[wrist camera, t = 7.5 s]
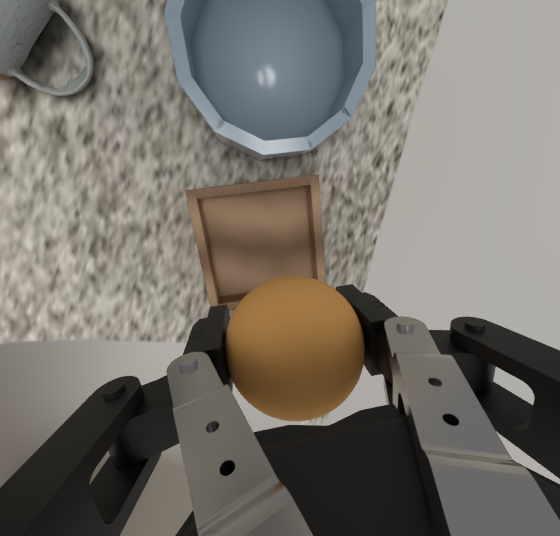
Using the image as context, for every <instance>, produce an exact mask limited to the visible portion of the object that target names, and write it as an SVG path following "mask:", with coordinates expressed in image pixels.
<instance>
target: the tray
mask: <svg viewBox="0 0 560 536" xmlns="http://www.w3.org/2000/svg"><path fill="white" fill-rule="evenodd" d="M186 196H187V201H188V205H189V210H190V215H191V219H192V224H193V229H194V233H195V238H196V243H197V247H198V252H199V257H200V261H201V266H202V271H203V275H204V280H205V284H206V289H207V294H208V298H209V303H210V307H212V306H218V305H224V304H227V306H228V310H233V309H236V307H237V306H238V304H239V303H240V301H241V300H242V299H243V298H244V297H245V296H246V295H247V294H248V293H249V292H250V291H252V290H253V289H254V288H256V287H257V286H259V285H260V284H262V283H264V282H266V281H268V280H271V279H274V278H278V277H283V276H305V277H310V278H313V279H317V280H319V281H321V282H323V283H326V281H325V265H324V250H323V234H322V218H321V203H320V187H319V175H312V176H304V177H295V178H287V179H278V180H270V181H261V182H253V183H245V184H236V185H228V186H219V187H211V188H203V189H194V190H186Z"/></svg>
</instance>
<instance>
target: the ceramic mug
mask: <svg viewBox="0 0 560 536" xmlns="http://www.w3.org/2000/svg"><path fill="white" fill-rule="evenodd" d="M59 1H60V0H0V79H8V78H11V77H12V76H16V77H17V78H18V79H20V80H21V81H23V82H24V83H26V84H27V85H29V86H31V87H33V88H36V89H37V90H39V91H42V92H45V93H48V94H51V95H57V96H68V95H73V94H76V93H78V92H80V91H82V90H83V89H84V88H85V87H86V86H87V85H88V83H89V82H90V80H91V78H92V75H93V69H94V63H93V57H92V53H91V51H90V48H89V46H88V44H87V42H86V40H85V38H84V36H83V35H82V33H81V32H80V30H79V29H78V28H77V26H76V25H75V24H74V23H73V22H72V20H71V19H70V18H69V17H68V15H67V14H66V13H65V12H64V11H63V10H62V9H61V8H60V6H59V5H58V4H59ZM54 12H56V13H57V14H59V15H60V16H61V17H62V18H63V19H64V21H65V22H66V23H67V24H68V26H69V27H70V29H71V30H72V31H73V33H74V34H75V36H76V37H77V39H78V41H79V43H80V46H81V49H82V51H83V56H84V58H85V62H86V66H85V68H84V69H83V71H82V72H81V73H80V74H79V76H78V77H77V78H76V79H75V80H73V81H68V83H67V85H66V86H64V87H61V88H60V89H56V88H50V87H48V86H46V85H43V84H41V83H39V82H37V81H35V80H33V79H31V78H30V77H28V76H27V75H25V74H24V73H23V72H22V71H21V67H22V66H23V64H24V62H25V60H26V59H27V57H28V54H29V52H30V50H31V48H32V46H33V44H34V43H35V41H36V40H37V38H38V36H39V35H40V33H41V32H42V30H43V29H44V27H45V26H46V24H47V22H49V20H50V17H51V16H52V14H53V13H54Z"/></svg>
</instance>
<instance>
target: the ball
mask: <svg viewBox="0 0 560 536" xmlns="http://www.w3.org/2000/svg"><path fill="white" fill-rule="evenodd" d="M225 352H226V361H227V367H228V370H229V374H230V376H231V378H232V380H233V382H234V384H235V386H236V388H237V389H238V391H239V392H240V393H241V395H242V396H243V397H244V398H245V399H246V400H247V401H248V402H249V403H250V404H251V405H253V406H254V407H255V408H257V409H258V410H259V411H261V412H263V413H264V414H267V415H269V416H271V417H274V418H278V419H281V420H286V421H305V420H311V419H314V418H318V417H320V416H323V415H325V414H327V413H329V412H331V411H332V410H334V409H335V408H337V407H338V406H339V405H340V404H341V403H343V402H344V401H345V400H346V398H347V397H348V396H349V395H350V393H351V392H352V390H353V389H354V387H355V386H356V384H357V382H358V380H359V377H360V374H361V372H362V368H363V364H364V355H365V342H364V335H363V331H362V327H361V324H360V322H359V319H358V317H357V315H356V313H355V311H354V310H353V308H352V306H351V305H350V304H349V302H348V301H347V300H346V299H345V298H344V297H343V296H342V295H341V294H340V293H339V292H338V291H336V290H335V289H334V288H332V287H331V286H329V285H328V284H326V283H323V282H321V281H319V280H317V279H313V278H310V277H305V276H283V277H278V278H274V279H271V280H268V281H266V282H264V283H262V284H260V285H259V286H257V287H256V288H254V289H253V290H252V291H250V292H249V293H248V294H247V295H246V296H245V297H244V298H243V299H242V300H241V301H240V303H239V304H238V306H237V307H236V309H235V311H234V312H233V314H232V316H231V318H230V321H229V324H228V327H227V332H226V337H225Z"/></svg>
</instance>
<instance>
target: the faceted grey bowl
mask: <svg viewBox="0 0 560 536" xmlns="http://www.w3.org/2000/svg"><path fill="white" fill-rule="evenodd" d="M164 14H165V19H166V24H167V29H168V34H169V39H170V44H171V49H172V55H173V60H174V65H175V70H176V75H177V80H178V82H179V84H180V86H181V87H182V89H183V90H184V92H185V94H186V95H187V97H188V98H189V100H190V102H191V103H192V104H193V106H194V107H195V108H196V110H197V111H198V112H199V114H200V115H201V116H202V118H203V119H204V121H205V122H206V123H207V125H208V126H209V127H210V129H211V130H212V131H213V133H214V134H215V135H216V137H217V138H218V139H219V141H220V142H222V143H224V144H226V145H228V146H231V147H233V148H235V149H237V150H239V151H241V152H243V153H245V154H247V155H250V156H252V157H254V158H256V159H258V160H266V159H275V158H284V157H293V156H300V155H302V154H304V153H306V152H308V151H310V150H312V149H313V148H314V147H316V146H317V145H318V144H320V143H321V142H322V141H323V140H325V139H326V138H327V137H328V136H330V135H331V134H332V133H334V132H335V131H336V130H337V129H339V128H340V127H341V126H342V125H344V124H345V123H346V122H348V121H349V120H350V119H351V118H352V117H353V115H354V112H355V110H356V108H357V106H358V103H359V101H360V99H361V97H362V95H363V92H364V90H365V88H366V86H367V83H368V81H369V79H370V77H371V74H372V72H373V70H374V68H375V65H376V0H167V4H166V7H165V11H164Z"/></svg>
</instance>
